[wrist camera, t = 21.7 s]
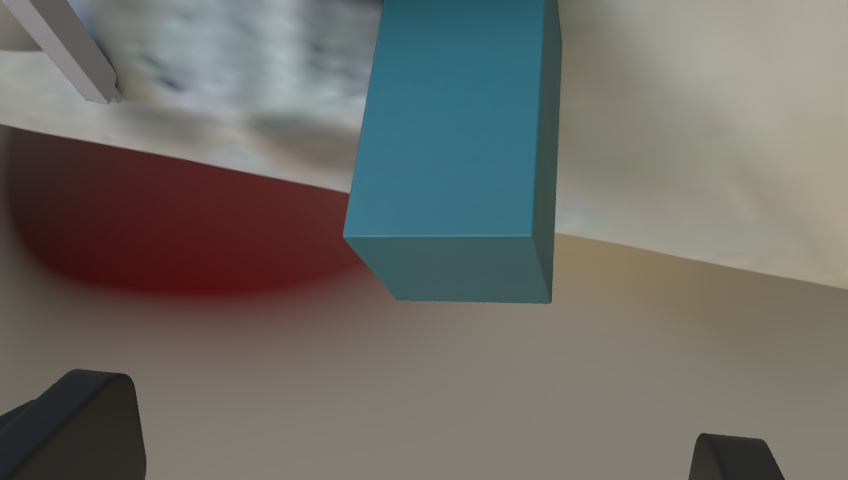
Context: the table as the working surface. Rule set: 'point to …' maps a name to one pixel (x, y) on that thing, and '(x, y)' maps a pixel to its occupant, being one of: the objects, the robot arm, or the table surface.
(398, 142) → the block
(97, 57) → the caliper
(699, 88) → the table surface
